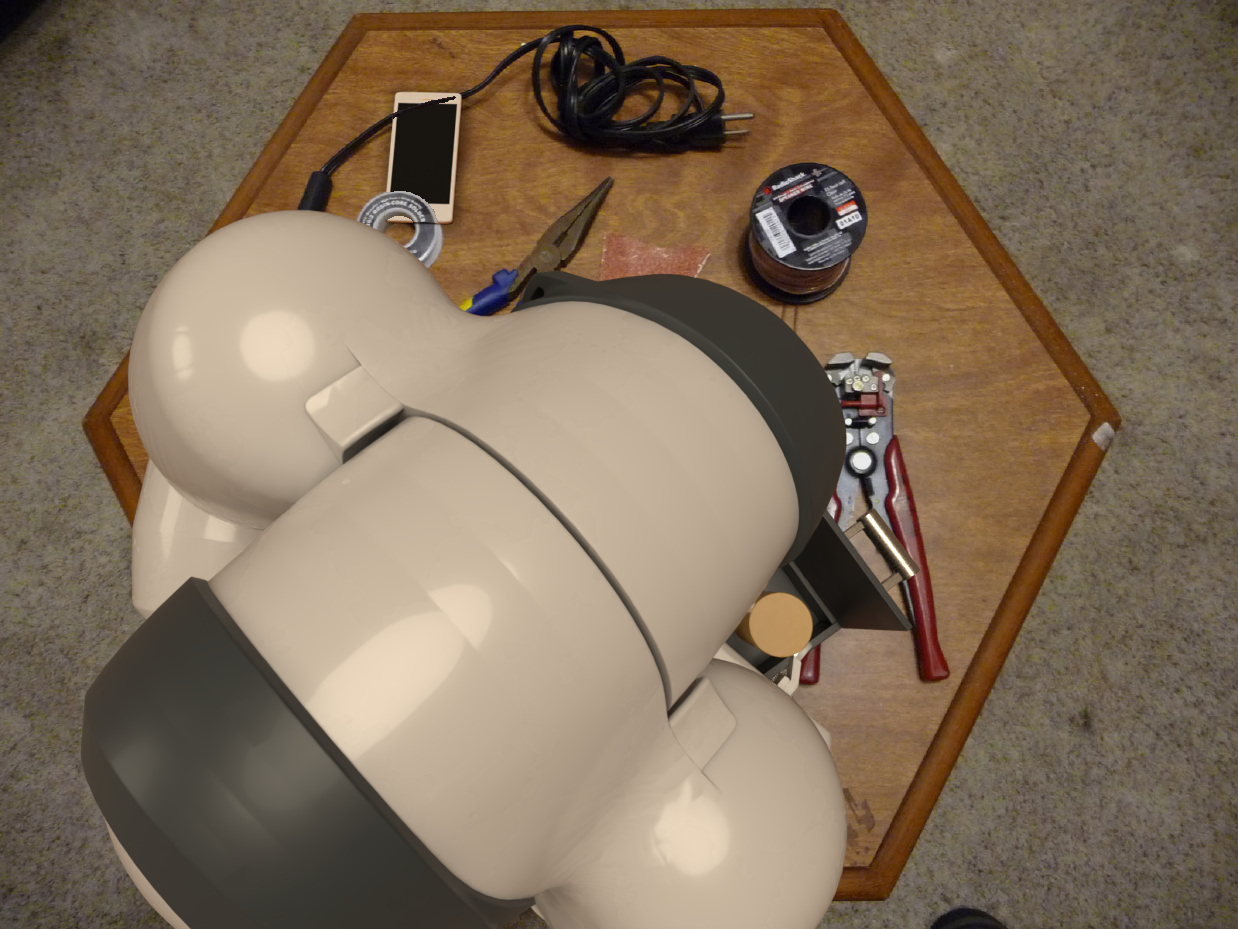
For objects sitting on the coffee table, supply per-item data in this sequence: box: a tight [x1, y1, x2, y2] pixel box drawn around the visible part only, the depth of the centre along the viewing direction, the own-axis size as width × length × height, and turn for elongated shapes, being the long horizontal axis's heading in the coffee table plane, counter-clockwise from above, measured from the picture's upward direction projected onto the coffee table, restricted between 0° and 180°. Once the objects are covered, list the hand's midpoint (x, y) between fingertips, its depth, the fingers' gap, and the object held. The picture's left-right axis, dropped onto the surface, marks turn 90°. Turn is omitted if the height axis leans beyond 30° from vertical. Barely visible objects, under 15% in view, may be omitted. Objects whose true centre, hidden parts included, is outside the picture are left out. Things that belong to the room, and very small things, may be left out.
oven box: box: [726, 560, 843, 681], centre depth 74 cm, size 14×12×6 cm
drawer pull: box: [794, 507, 921, 632], centre depth 65 cm, size 14×12×5 cm
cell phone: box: [385, 91, 463, 225], centre depth 85 cm, size 8×16×1 cm, turn 178°
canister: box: [734, 591, 813, 657], centre depth 64 cm, size 5×5×12 cm
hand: (774, 613), depth 63 cm, fingers closed on canister, 5 cm apart
